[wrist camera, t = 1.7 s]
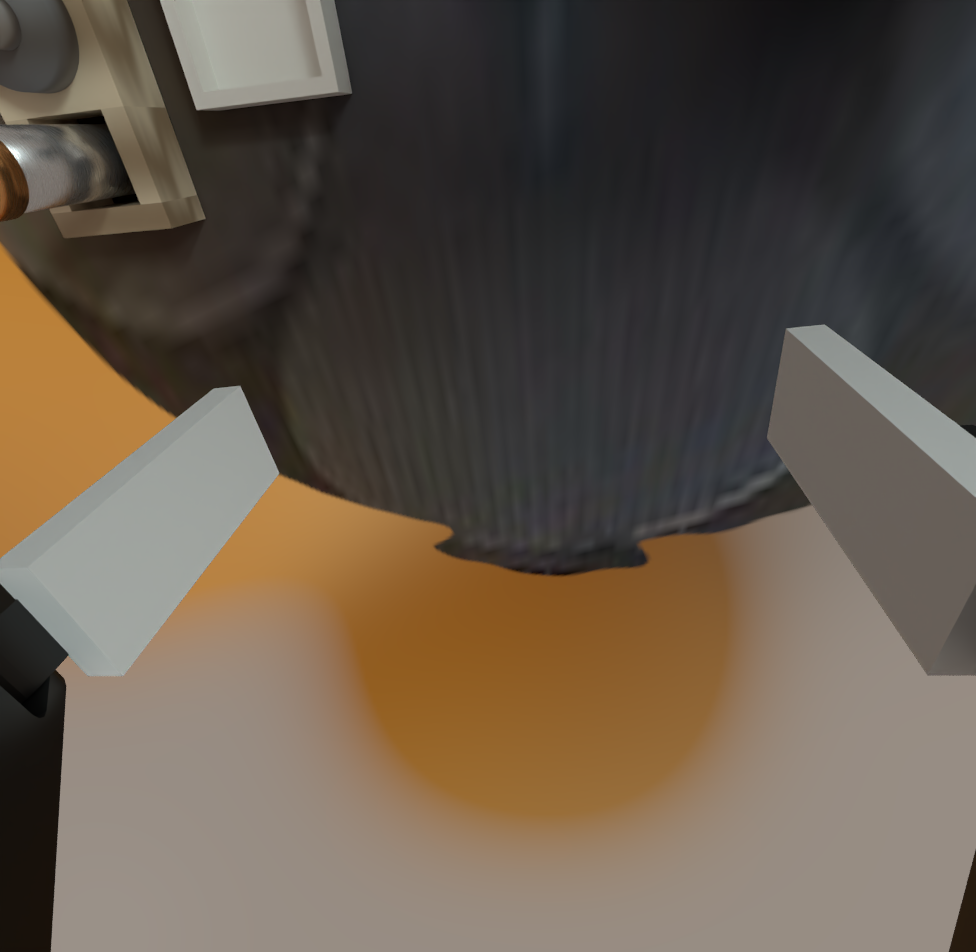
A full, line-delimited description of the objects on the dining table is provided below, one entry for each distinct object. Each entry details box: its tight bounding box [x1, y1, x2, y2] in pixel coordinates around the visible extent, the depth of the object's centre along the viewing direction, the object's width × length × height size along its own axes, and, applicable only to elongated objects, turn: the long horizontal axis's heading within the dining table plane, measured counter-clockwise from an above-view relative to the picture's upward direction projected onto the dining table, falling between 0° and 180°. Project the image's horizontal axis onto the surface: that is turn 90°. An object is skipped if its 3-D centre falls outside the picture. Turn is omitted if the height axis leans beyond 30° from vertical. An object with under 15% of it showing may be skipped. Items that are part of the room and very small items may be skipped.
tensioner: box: [0, 0, 206, 238], centre depth 31 cm, size 14×8×7 cm, turn 5°
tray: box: [160, 0, 352, 111], centre depth 29 cm, size 9×9×2 cm
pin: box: [0, 124, 136, 222], centre depth 30 cm, size 4×4×13 cm
